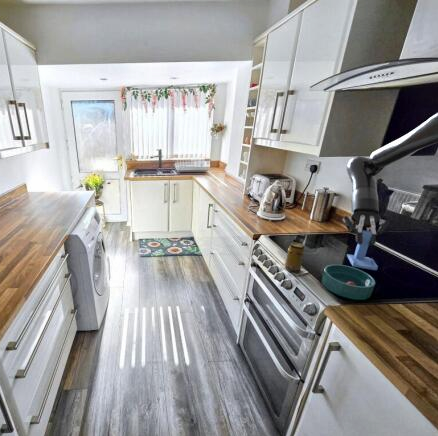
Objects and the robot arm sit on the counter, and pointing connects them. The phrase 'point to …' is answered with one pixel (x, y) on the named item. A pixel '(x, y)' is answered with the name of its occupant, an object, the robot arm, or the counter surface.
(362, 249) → the blue base with post
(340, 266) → the teal ribbed bowl
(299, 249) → the condiment
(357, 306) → the counter surface
